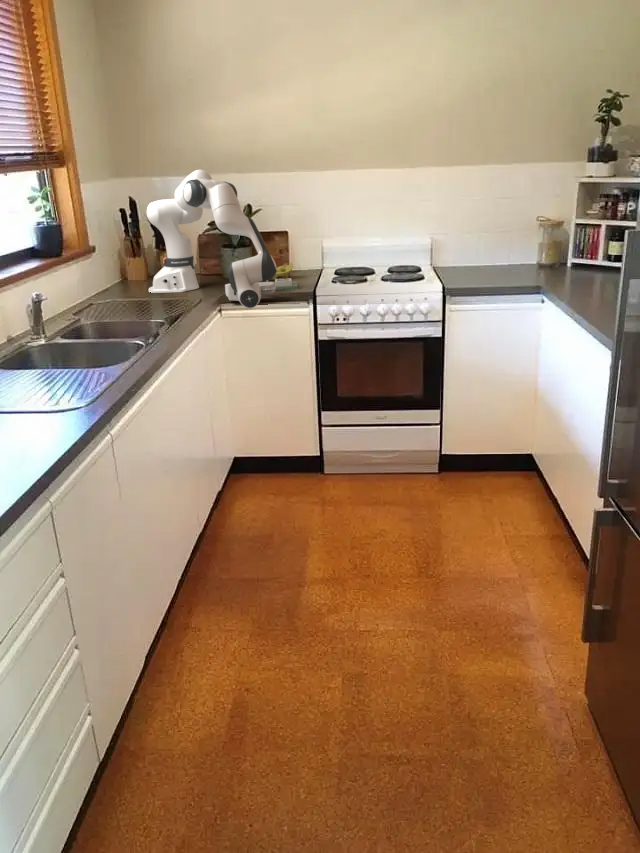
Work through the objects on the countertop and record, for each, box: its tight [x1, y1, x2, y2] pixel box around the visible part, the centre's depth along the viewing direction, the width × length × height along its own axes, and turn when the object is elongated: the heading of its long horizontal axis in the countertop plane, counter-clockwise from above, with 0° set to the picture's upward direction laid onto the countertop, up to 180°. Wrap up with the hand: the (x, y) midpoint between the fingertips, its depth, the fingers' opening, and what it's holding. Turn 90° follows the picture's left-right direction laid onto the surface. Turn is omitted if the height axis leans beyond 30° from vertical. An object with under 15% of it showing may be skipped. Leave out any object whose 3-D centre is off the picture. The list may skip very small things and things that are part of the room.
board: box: [266, 277, 299, 291], centre depth 323 cm, size 16×12×3 cm
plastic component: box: [271, 261, 294, 281], centre depth 345 cm, size 20×7×10 cm
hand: (250, 285), depth 303 cm, fingers open, 8 cm apart
